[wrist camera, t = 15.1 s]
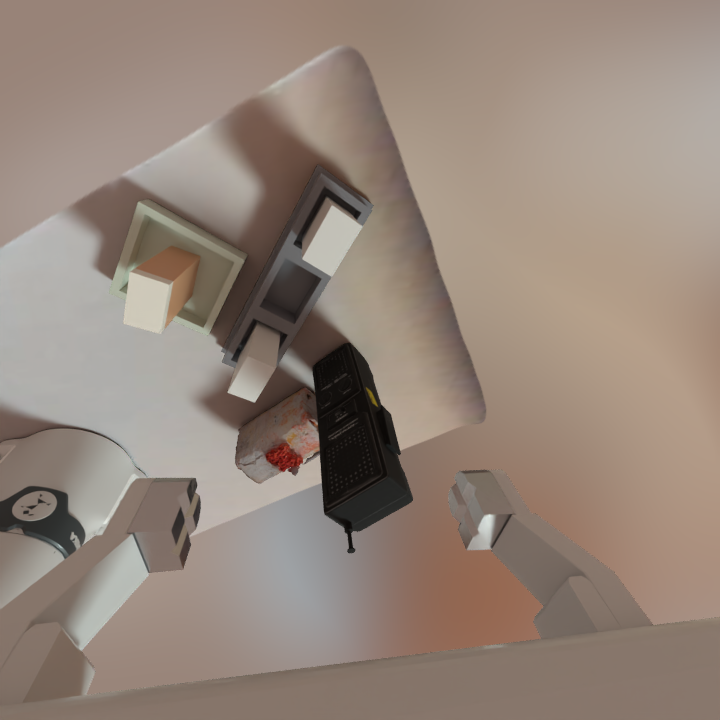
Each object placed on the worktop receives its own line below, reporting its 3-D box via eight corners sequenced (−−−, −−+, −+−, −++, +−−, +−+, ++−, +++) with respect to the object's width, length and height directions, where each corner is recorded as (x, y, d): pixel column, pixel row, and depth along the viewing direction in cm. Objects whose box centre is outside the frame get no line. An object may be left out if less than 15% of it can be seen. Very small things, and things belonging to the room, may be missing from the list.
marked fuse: (191, 296, 38) (160, 334, 30) (164, 287, 37) (123, 323, 29) (200, 256, 36) (169, 284, 28) (171, 245, 35) (129, 271, 27)
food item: (306, 377, 47) (307, 422, 39) (337, 409, 51) (344, 457, 43) (235, 422, 50) (221, 475, 41) (270, 450, 54) (264, 503, 45)
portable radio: (353, 334, 45) (397, 487, 24) (377, 362, 48) (435, 521, 27) (309, 365, 46) (313, 536, 25) (335, 391, 49) (358, 562, 28)
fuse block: (272, 368, 46) (264, 421, 36) (222, 347, 43) (200, 399, 34) (371, 204, 37) (395, 218, 27) (317, 164, 34) (323, 164, 24)
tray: (212, 327, 41) (207, 336, 39) (119, 285, 37) (108, 293, 35) (247, 254, 37) (244, 260, 35) (148, 199, 33) (138, 201, 31)
